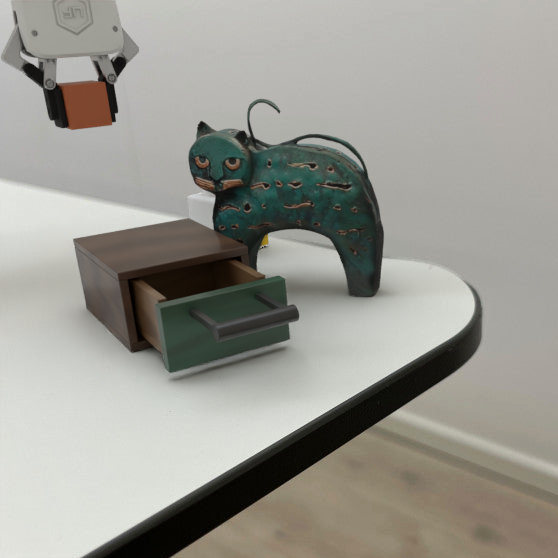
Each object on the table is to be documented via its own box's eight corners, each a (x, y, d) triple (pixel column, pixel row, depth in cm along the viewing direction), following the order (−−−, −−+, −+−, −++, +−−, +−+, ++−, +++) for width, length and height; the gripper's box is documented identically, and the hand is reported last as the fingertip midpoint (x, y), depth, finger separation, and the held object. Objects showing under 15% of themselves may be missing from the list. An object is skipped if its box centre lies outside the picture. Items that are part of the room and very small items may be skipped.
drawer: (326, 362, 64) (322, 297, 62) (199, 401, 59) (189, 331, 56) (227, 299, 79) (221, 245, 77) (118, 325, 74) (108, 268, 71)
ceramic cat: (201, 292, 84) (176, 102, 76) (225, 274, 90) (205, 95, 82) (376, 303, 79) (370, 100, 71) (390, 282, 85) (386, 93, 77)
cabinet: (255, 320, 76) (247, 246, 73) (131, 352, 70) (117, 273, 67) (197, 283, 87) (189, 217, 84) (86, 308, 81) (72, 238, 78)
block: (71, 130, 82) (62, 85, 80) (60, 126, 86) (51, 83, 84) (112, 125, 85) (105, 82, 83) (99, 121, 88) (92, 80, 86)
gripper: (-33, -68, 70) (14, 137, 78) (144, -66, 79) (170, 118, 86) (-47, -60, 76) (-2, 130, 84) (120, -59, 84) (146, 113, 92)
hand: (85, 122), depth 85 cm, fingers closed on block, 4 cm apart
